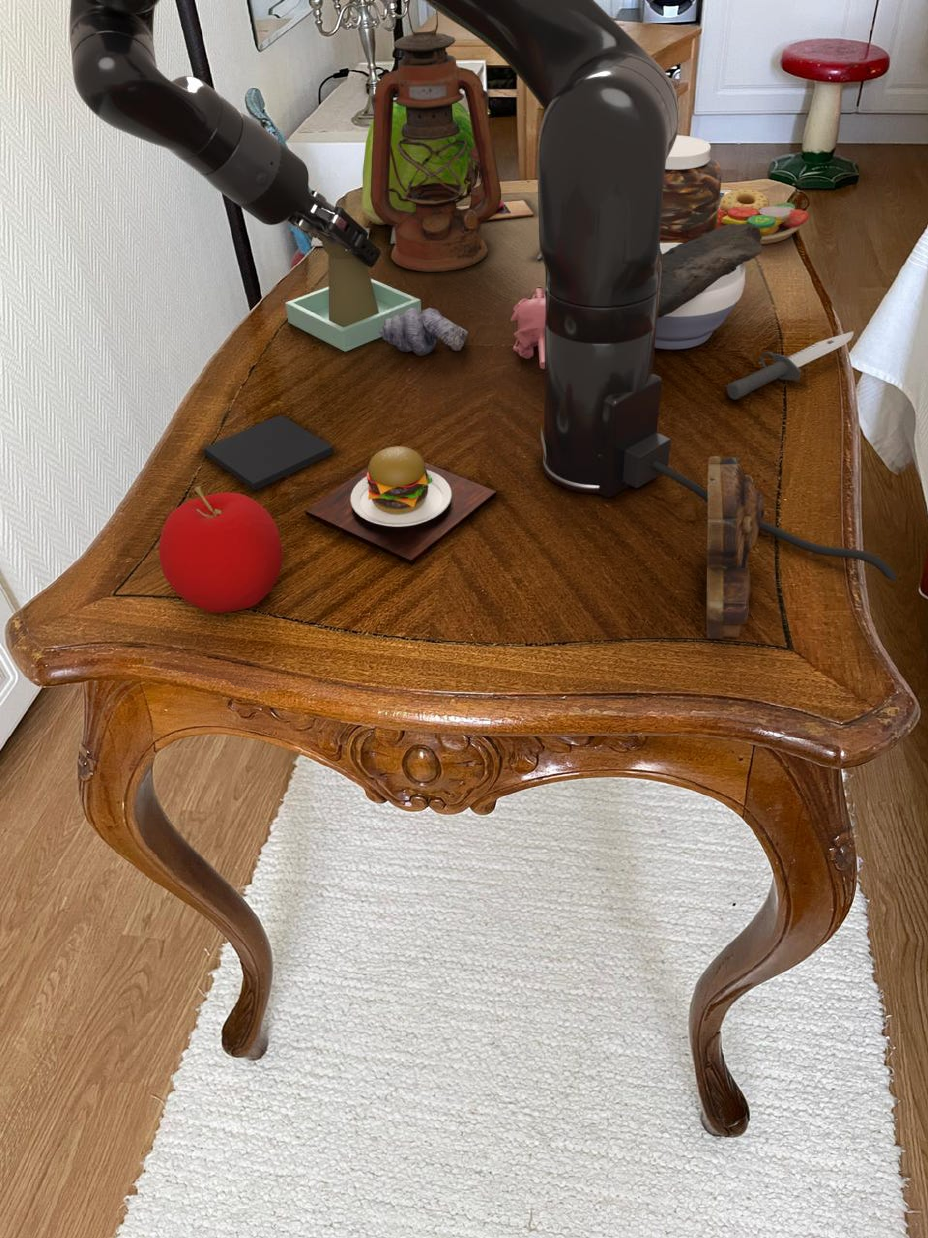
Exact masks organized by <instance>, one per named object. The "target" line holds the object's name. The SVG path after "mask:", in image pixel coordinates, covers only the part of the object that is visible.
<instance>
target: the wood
mask: <svg viewBox="0 0 928 1238" xmlns="http://www.w3.org/2000/svg"><path fill="white" fill-rule="evenodd" d="M761 238H762V237H761V234H760V230H759V228H758V227H757V226H754V225H750V224H728V225H724V226H721V227H718V228H717V229H715V230H713V231H711V232H709V233H708V234H706V235H704V236H702V237H700V238H698V239H694V240H692V241H689V242H686V243H682V244H679V245H677V246H676V247H673V248H671V249H670V250H669V251H667V252H665V253H664V254H662V256H663V263H662V274H661V285H660V294H659V306H658V318H661V317H663V316H664V315H667V314H669V313H672V312H673V311H675V310H676V309H678V308H679V307H680V306H682V305H683V304H685V303H687V302H688V301H690V300H691V299H693V298H695V297H696V296H697V295H699V294H700V293H702V292H703V291H704V290H705V289H706V288H708V287H709V286H710V285H712V284H713V283H714V282H715V281H717V280H718V279H719V278H721V277H722V276H725V275H728V274H730V273H732V272H734V271H735V270H736V267H737V266H738V265H740V264H742V263H743V264H745V263H746V262H750V261H751V260H753V259H756V257H757V256H759V255H760V254H761V253H762V252H763V251H764V248H763V244H761V243H760V240H761Z"/></svg>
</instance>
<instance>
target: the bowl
mask: <svg viewBox="0 0 928 1238" xmlns="http://www.w3.org/2000/svg"><path fill="white" fill-rule="evenodd" d="M679 244H682V243H660V249H661V252H662V254H664V253H665V252H667V251H669V250H670V249H671V248H673V247H676V246H677V245H679ZM745 284H746V266H745V264H744V263H742V264H740V265H738V266H737V267H736V270H735V271H734V272H732V273H730V274H728V275H725V276H722V277H721V278H719V279H718V280H717V281H715V282H714V283H713V284H712V285H710V286H709V287H708V288H706V289H705V290H704V291H703V292H702V293H700V294H699V295H697V296H696V297H695V298H693V299H691V300H690V301H688V302H687V303H685V304H683V305H682V306H680V307H679V308H678V309H676V310H675V311H673V312H672V313H669V314H667V315H664V316H663V317H661V318H658V317H657V327H656V339H655V349H660V350H669V351H670V350H671V351H674V350H675V351H677V350H685V349H690V348H694V347H698V346H700V345H702V344H704V343H705V342H707V341H708V340H709V338H711V336H712V334H713V333H714V331H716V330H717V329H719V327H720V326H722V324H723V323H724V322H725V321H726V319H727V316H728V315H730V314H731V312H732V311H734V309H735V307H736V306H737V304H738V302H739V301H740V299H741V298H742V296H743V294H744V293H743V292H744V289H745Z"/></svg>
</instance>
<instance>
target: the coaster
mask: <svg viewBox="0 0 928 1238" xmlns="http://www.w3.org/2000/svg"><path fill="white" fill-rule="evenodd" d="M203 451H204V455H205V457H207V458H209V459H210V460H212V461H213V462H215V464H217V465H218V466H220V467H221V468H223V469H224V470H226V471H227V472H228V473H230V475H232V476H234V477H235V478H237V480H239V481H241V482H242V483H243V484H245V485H246V486H248V487H249V488H251V489H252V490H253V491H255V492H257V491H258V490H260V489H262V488H264V487H266V486H268V485H270V484H273V483H275V482H277V481H279V480H281V479H283V478H285V477H287V476H289V475H291V474H293V473H296V472H298V471H300V470H302V469H305V468H306V467H309V466H310V465H313V464H315V463H317V462H319V461H321V460H323V459H326V458H328V457H329V456H332V455H334V454H335V452H334V447H333V445H331V444H329V443H328V442H326V441H325V440H323V439H322V438H320V437H318V436H317V435H315V434H313V433H312V432H310V431H309V430H307V429H305V428H303V427H302V426H300V425H298V424H297V423H296V422H294V421H292V420H290V419H289V418H288V417H286V416H285V415H283V414H278V415H276V416H274V417H271V418H269V419H267V420H264V421H262V422H260V423H257V424H255V425H253V426H250V427H249V428H246V429H244V430H242V431H239V432H237V433H234V434H232V435H230V436H228V437H225V438H224V439H221V440H219V441H215V442H214V443H212V444H210V445H208V446H205V447H203Z"/></svg>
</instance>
